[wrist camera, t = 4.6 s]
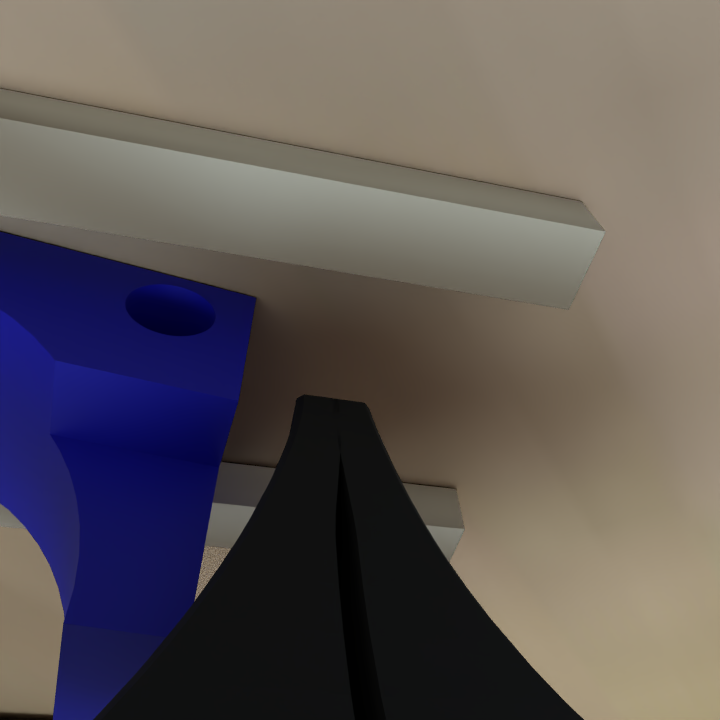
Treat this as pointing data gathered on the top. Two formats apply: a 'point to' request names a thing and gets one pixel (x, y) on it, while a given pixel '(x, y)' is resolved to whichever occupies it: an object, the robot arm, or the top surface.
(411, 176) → the guide channel
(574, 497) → the top surface
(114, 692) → the blue cradle block
